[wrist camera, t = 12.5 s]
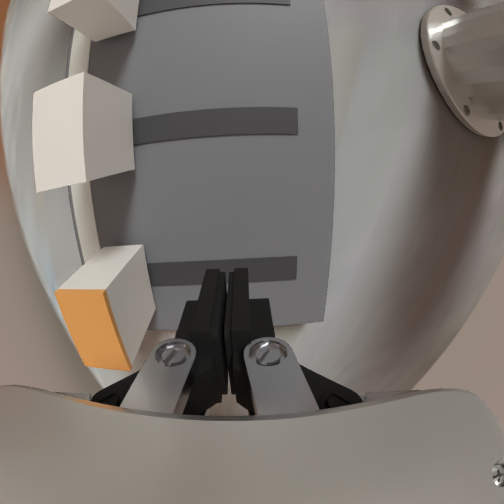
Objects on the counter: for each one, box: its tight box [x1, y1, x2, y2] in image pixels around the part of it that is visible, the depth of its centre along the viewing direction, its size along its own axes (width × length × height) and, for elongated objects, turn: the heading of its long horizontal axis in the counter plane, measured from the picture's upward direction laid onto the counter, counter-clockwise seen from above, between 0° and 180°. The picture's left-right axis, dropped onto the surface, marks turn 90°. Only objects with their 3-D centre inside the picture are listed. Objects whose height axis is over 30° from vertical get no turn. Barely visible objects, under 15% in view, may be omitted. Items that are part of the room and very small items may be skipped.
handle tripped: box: [54, 244, 156, 371], centre depth 12 cm, size 2×4×5 cm, turn 2°
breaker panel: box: [65, 0, 335, 330], centre depth 13 cm, size 15×24×3 cm, turn 2°
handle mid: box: [32, 72, 135, 192], centre depth 9 cm, size 2×4×5 cm, turn 2°
